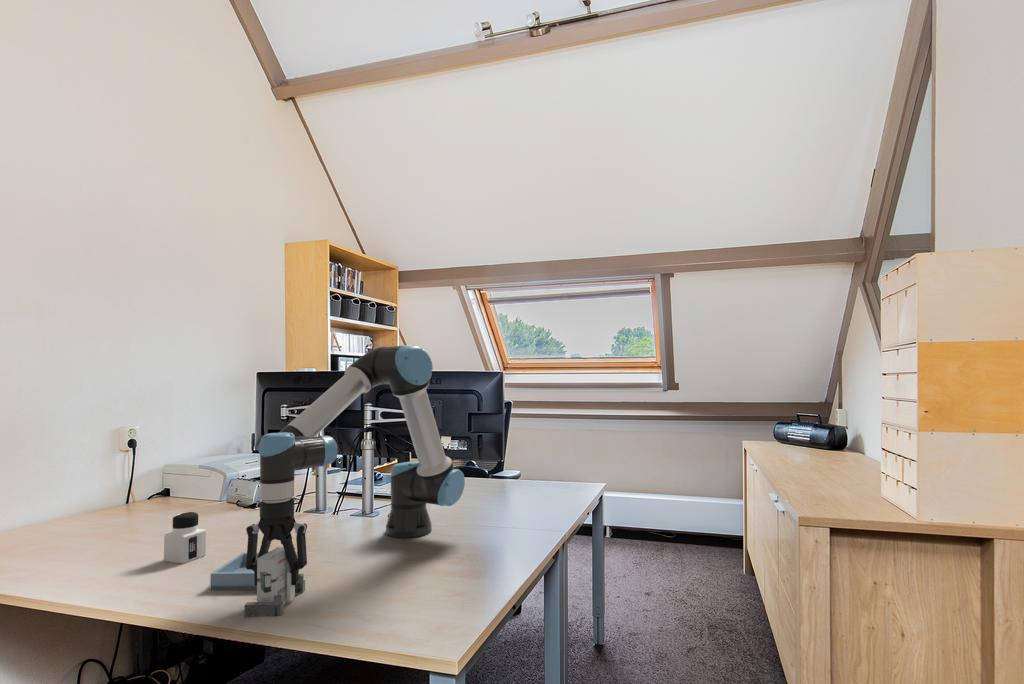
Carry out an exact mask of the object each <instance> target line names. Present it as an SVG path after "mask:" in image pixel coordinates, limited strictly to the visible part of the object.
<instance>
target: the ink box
mask: <svg viewBox="0 0 1024 684" xmlns="http://www.w3.org/2000/svg"><path fill="white" fill-rule="evenodd" d="M294 549H295V550H296V547H294ZM288 571H290V567H289V564H288V560H287V557H286V554H285V551H284V547H283V546H277V547H275V548H273V549H271V550H270V551H268V553H266V554H264V555H262V556H261V557H259V558H257V590H256V602H274V596H276V595H281V602H283V606H284V605H285V604H286V603H288V601H287V572H288Z"/></svg>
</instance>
